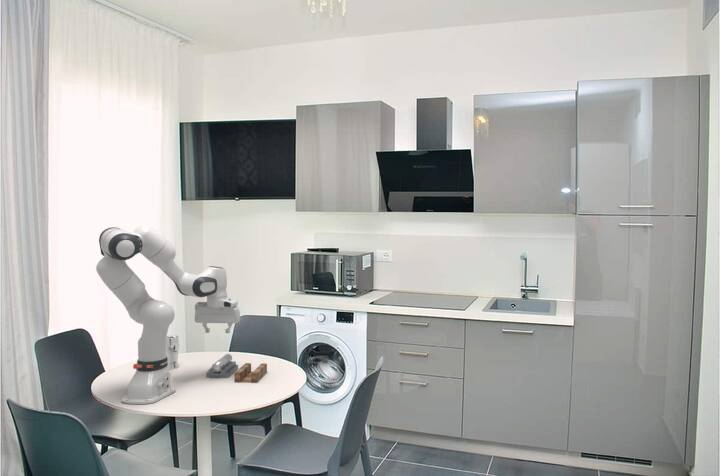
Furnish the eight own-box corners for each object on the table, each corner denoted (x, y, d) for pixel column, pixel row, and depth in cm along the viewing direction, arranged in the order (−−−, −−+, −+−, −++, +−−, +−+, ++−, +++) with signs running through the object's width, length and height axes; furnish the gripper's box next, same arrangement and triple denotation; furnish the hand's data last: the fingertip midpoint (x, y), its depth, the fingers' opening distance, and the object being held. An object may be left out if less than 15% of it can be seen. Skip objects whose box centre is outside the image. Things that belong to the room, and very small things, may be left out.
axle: (219, 373, 250) (220, 364, 250) (211, 371, 251) (212, 362, 250) (231, 362, 266) (232, 354, 266) (223, 361, 266) (224, 353, 266)
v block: (228, 380, 251) (227, 370, 251) (206, 379, 252) (206, 369, 252) (238, 370, 265) (238, 361, 265) (217, 370, 266) (217, 361, 266)
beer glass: (174, 364, 277) (173, 334, 276) (182, 367, 272) (181, 336, 272) (161, 368, 271) (160, 337, 271) (169, 370, 267) (168, 339, 266)
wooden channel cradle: (256, 385, 244) (256, 373, 243) (234, 384, 245) (234, 373, 245) (267, 374, 260) (266, 363, 259) (245, 373, 261) (245, 363, 260)
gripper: (191, 303, 250) (192, 333, 251) (236, 303, 248) (237, 334, 248) (197, 300, 256) (198, 330, 257) (241, 301, 254) (241, 331, 255)
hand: (217, 332), depth 253 cm, fingers open, 8 cm apart
